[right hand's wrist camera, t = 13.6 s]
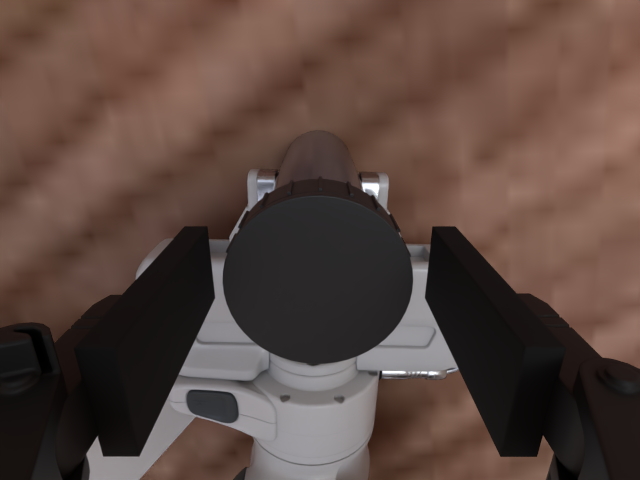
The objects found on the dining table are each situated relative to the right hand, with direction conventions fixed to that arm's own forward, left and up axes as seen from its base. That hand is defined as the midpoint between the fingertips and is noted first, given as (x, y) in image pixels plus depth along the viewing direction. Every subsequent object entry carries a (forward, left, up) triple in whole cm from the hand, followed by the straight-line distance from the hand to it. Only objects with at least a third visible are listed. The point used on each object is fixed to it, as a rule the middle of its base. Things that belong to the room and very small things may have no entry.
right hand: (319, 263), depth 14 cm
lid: (0, 0, +2) cm, 2 cm away
